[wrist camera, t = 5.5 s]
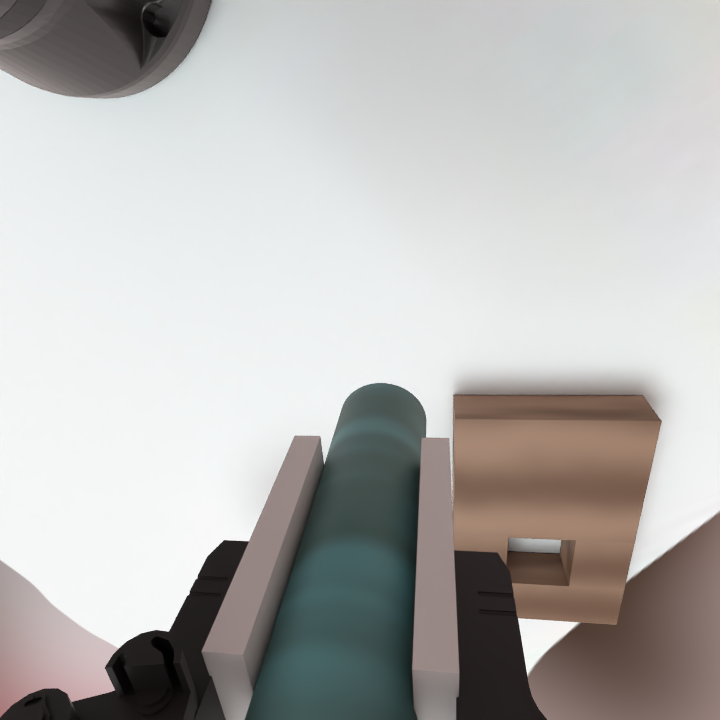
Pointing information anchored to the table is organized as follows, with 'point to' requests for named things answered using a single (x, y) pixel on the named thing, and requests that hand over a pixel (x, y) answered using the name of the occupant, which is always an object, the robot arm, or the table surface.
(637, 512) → the hole plate
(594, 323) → the table surface
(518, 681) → the robot arm
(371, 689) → the peg
